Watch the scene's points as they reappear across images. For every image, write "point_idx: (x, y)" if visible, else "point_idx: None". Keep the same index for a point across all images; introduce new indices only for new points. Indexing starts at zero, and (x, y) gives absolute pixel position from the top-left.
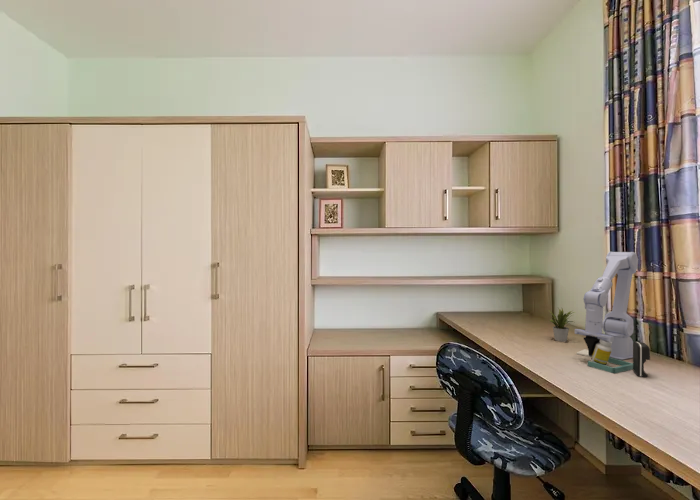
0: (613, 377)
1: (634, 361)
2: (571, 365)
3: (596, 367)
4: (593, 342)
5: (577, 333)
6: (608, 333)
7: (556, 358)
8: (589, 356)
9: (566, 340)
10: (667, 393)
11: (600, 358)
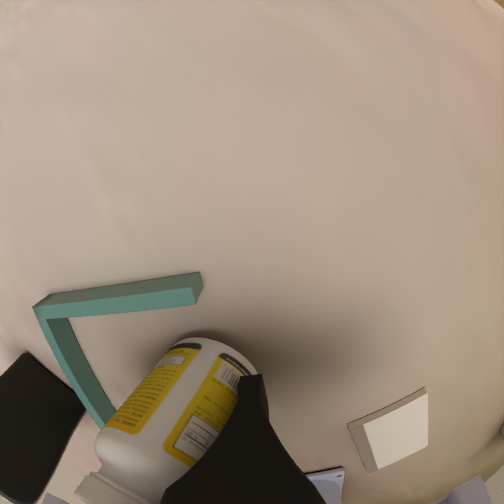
0: (6, 230)
1: (40, 419)
2: (241, 145)
3: (132, 284)
4: (180, 484)
5: (451, 498)
6: None
7: (429, 190)
8: (359, 420)
9: (501, 430)
10: None
11: (148, 374)
